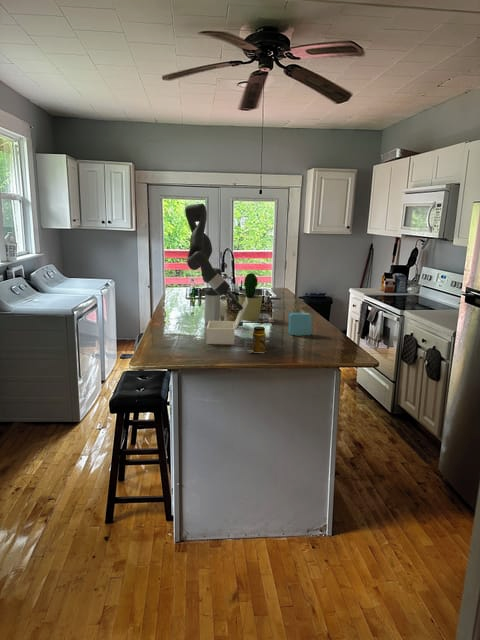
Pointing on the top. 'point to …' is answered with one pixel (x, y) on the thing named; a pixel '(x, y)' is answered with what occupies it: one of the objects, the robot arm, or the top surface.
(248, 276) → the potted cactus
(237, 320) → the lid
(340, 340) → the top surface
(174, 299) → the top surface
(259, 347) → the condiment
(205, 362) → the top surface
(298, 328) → the data package
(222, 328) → the box
